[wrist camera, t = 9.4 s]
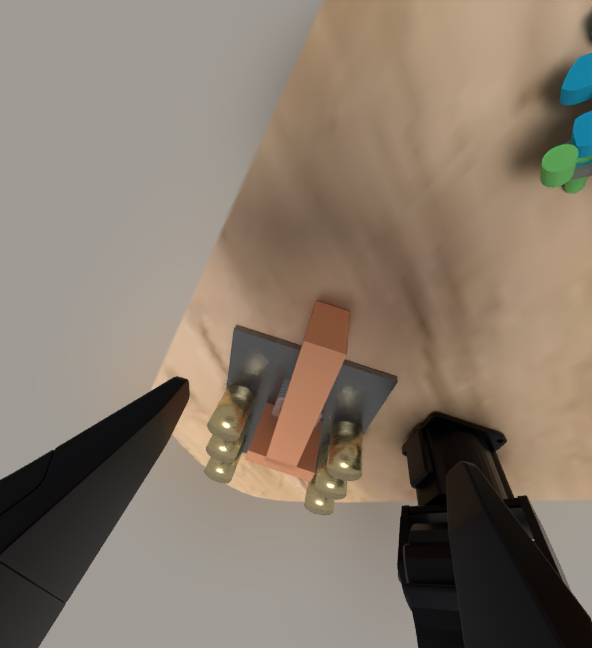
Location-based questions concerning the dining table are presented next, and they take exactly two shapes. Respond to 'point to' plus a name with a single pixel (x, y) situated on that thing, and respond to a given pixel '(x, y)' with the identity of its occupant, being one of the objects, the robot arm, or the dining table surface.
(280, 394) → the nut
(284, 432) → the copper l-bar
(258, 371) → the plate
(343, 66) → the dining table surface
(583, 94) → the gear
